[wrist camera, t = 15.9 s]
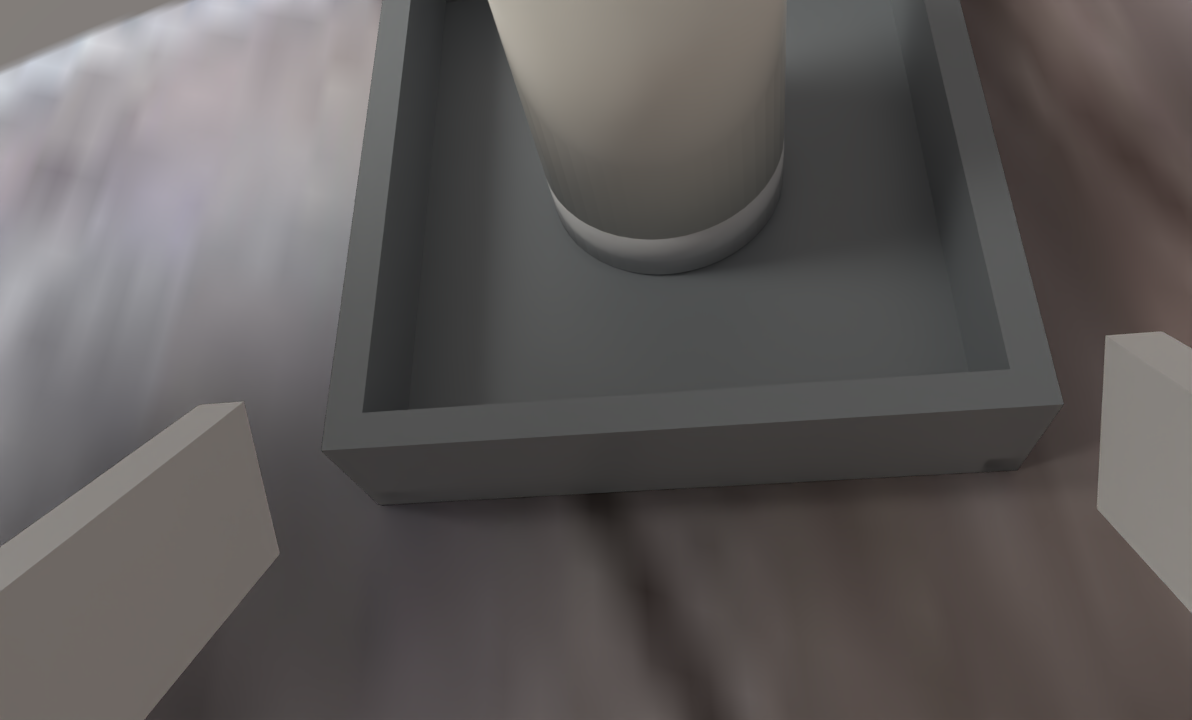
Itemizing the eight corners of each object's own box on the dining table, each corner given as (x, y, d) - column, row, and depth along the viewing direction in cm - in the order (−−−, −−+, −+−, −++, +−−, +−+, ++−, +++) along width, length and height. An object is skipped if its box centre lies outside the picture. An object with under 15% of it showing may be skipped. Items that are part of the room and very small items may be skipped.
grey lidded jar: (554, 286, 24) (408, -105, 14) (553, 106, 27) (431, -322, 17) (797, 260, 23) (816, -174, 13) (769, 77, 26) (769, -388, 16)
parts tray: (379, 505, 23) (320, 451, 20) (430, 7, 30) (394, -88, 27) (1017, 469, 21) (1063, 404, 18) (900, -50, 28) (918, -158, 25)
